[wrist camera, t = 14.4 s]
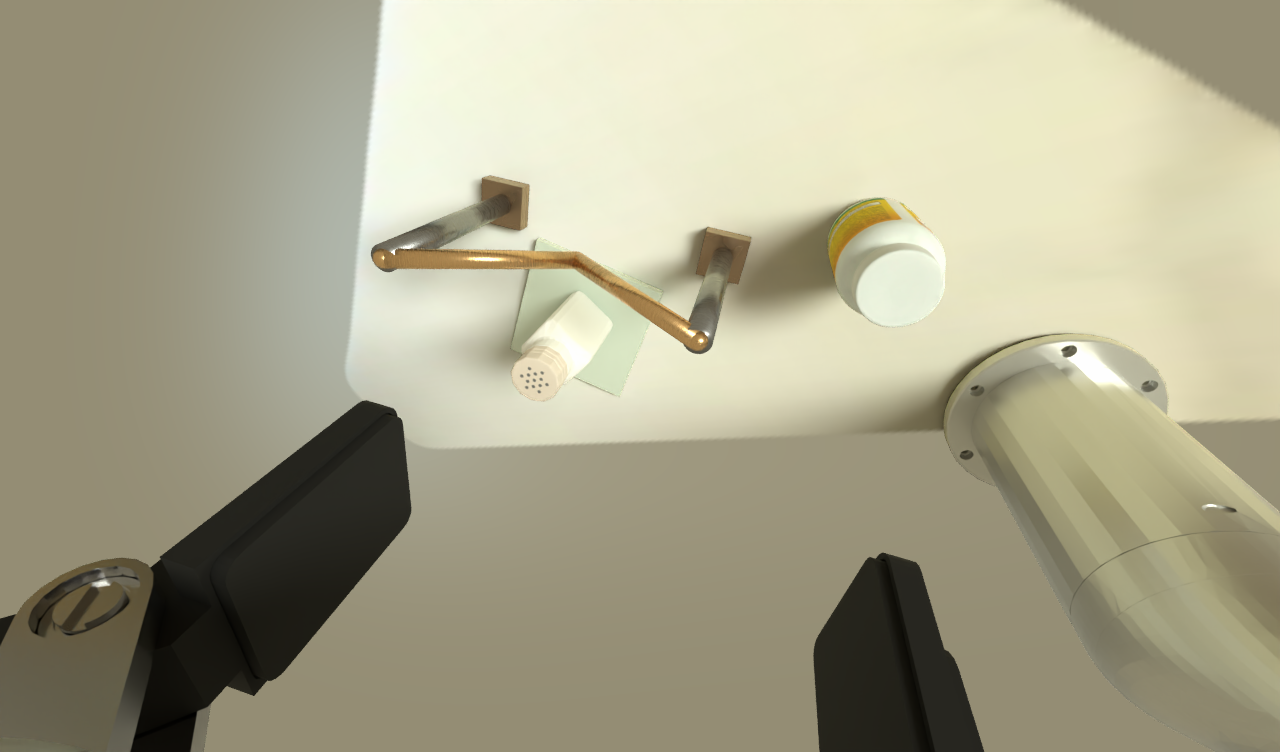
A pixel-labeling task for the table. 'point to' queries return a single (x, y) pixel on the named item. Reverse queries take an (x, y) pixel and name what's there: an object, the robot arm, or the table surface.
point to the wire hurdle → (566, 260)
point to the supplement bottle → (886, 262)
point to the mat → (628, 325)
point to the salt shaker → (560, 347)
